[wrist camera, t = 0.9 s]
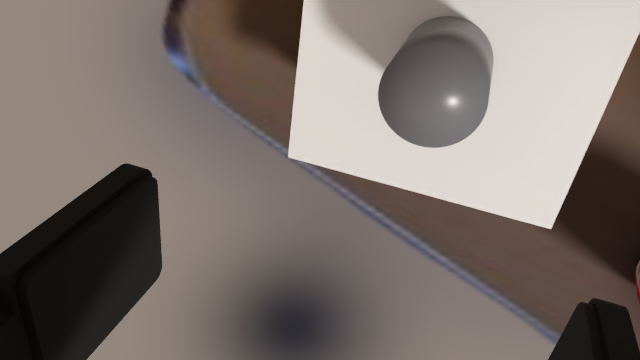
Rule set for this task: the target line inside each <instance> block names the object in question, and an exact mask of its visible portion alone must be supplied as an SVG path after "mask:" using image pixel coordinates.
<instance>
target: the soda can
mask: <svg viewBox="0 0 640 360" xmlns="http://www.w3.org/2000/svg"><path fill="white" fill-rule="evenodd" d="M635 280H636V288H637V295H638V299H639V303H640V260H639V262H638V264H637V267H636V271H635Z"/></svg>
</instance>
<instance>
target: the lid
mask: <svg viewBox="0 0 640 360" xmlns="http://www.w3.org/2000/svg"><path fill="white" fill-rule="evenodd" d="M639 32H640V0H304V2H303V13H302V23H301V33H300V43H299V53H298V63H297V73H296V83H295V93H294V103H293V113H292V123H291V133H290V143H289V153H288V157H289V158H293V159H296V160H300V161H304V162H307V163H311V164H315V165H318V166H322V167H326V168H329V169H333V170H336V171H340V172H344V173H347V174H351V175H355V176H358V177H362V178H366V179H369V180H373V181H377V182H380V183H384V184H388V185H391V186H395V187H399V188H402V189H406V190H409V191H413V192H417V193H420V194H424V195H428V196H431V197H435V198H439V199H442V200H446V201H450V202H453V203H457V204H461V205H464V206H468V207H472V208H475V209H479V210H482V211H486V212H490V213H493V214H497V215H501V216H504V217H508V218H512V219H515V220H519V221H523V222H526V223H530V224H534V225H537V226H541V227H545V228H548V229H551V228H552V226H553V224H554V222H555V220H556V217H557V215H558V213H559V211H560V208H561V206H562V204H563V202H564V199H565V197H566V195H567V193H568V191H569V188H570V186H571V184H572V182H573V179H574V177H575V175H576V173H577V171H578V168H579V166H580V164H581V162H582V159H583V157H584V155H585V153H586V150H587V148H588V146H589V144H590V142H591V139H592V137H593V135H594V133H595V130H596V128H597V126H598V124H599V122H600V119H601V117H602V115H603V113H604V110H605V108H606V106H607V104H608V101H609V99H610V97H611V95H612V93H613V90H614V88H615V86H616V84H617V81H618V79H619V77H620V75H621V73H622V70H623V68H624V66H625V64H626V61H627V59H628V57H629V55H630V53H631V50H632V48H633V46H634V44H635V41H636V39H637V37H638V35H639Z"/></svg>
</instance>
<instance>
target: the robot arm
mask: <svg viewBox="0 0 640 360" xmlns="http://www.w3.org/2000/svg"><path fill="white" fill-rule="evenodd" d="M161 269H162V255H161V237H160V219H159V202H158V184H157V180H156V179H155V178H153V177H152V173H151V172H150V171H149V170H148V169H144V168H141V167H138V166H134V165H131V164H123V165H121V166H119V167H118V168H117V169H115V170H114V171H113V172H111V173H110V174H108V175H107V176H106V177H104V178H103V179H102V180H100V181H99V182H97V183H96V184H95V185H94V186H92V187H91V188H89V189H88V190H87V191H85V192H84V193H82V194H81V195H80V196H78V197H77V198H76V199H74V200H73V201H72V202H70V203H69V204H67V205H66V206H65V207H64V208H62V209H61V210H59V211H58V212H57V213H55V214H54V215H53V216H51V217H50V218H48V219H47V220H46V221H44V222H43V223H42V224H40V225H39V226H38V227H36V228H35V229H34V230H32V231H31V232H29V233H28V234H27V235H25V236H24V237H22V238H21V239H20V240H18V241H17V242H16V243H14V244H13V245H12V246H10V247H9V248H8V249H6V250H5V251H3V252H2V253H1V254H0V360H86V359H87V358H88V357H89V356H90V355H91V354H92V353H93V352H94V350H95V349H96V348H97V347H98V346H99V345H100V344H101V343H102V341H103V340H104V339H105V338H106V337H107V336H108V335H109V333H110V332H111V331H112V330H113V329H114V328H115V326H117V324H118V323H119V322H120V321H121V320H122V319H123V317H124V316H125V315H126V314H127V313H128V312H129V310H131V308H132V307H133V306H134V305H135V304H136V303H137V302H138V301H139V299H140V298H141V297H142V296H143V295H144V294H145V293H146V291H147V290H148V289H149V288H150V287H151V286H152V285H153V284H154V282H155V281H156V280H157V278H158V277H159V275H160V272H161ZM548 360H640V351H639V348H638V344H637V341H636V337H635V333H634V330H633V326H632V323H631V319H630V315H629V312H628V310H627V308H626V307H624V306H621V305H617V304H614V303H610V302H607V301H603V300H600V299H596V298H593V299H592V300H590V302H589V303H588V304H587V303H584V302H580V303H579V304H578V305H577V307H576V309H575V311H574V312H573V314H572V316H571V318H570V320H569V322H568V324H567V326H566V327H565V329H564V331H563V333H562V335H561V337H560V339H559V340H558V342H557V344H556V346H555V348H554V350H553V352H552V354H551V355H550V357H549V359H548Z"/></svg>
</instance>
